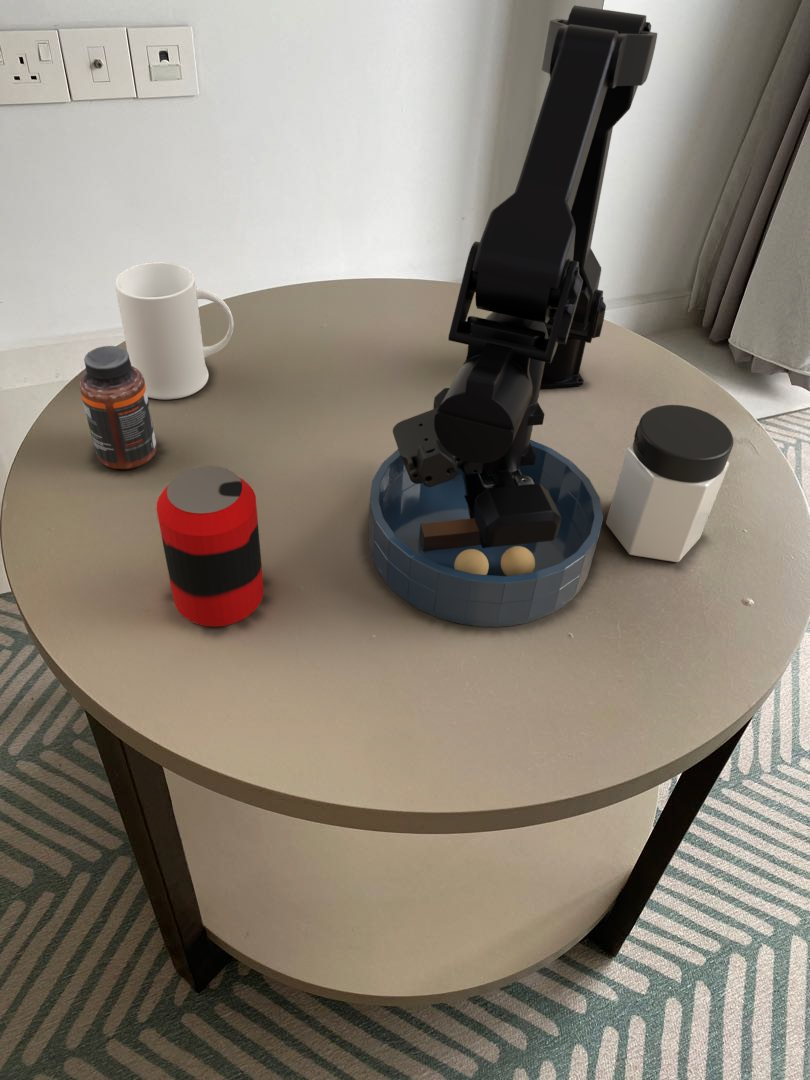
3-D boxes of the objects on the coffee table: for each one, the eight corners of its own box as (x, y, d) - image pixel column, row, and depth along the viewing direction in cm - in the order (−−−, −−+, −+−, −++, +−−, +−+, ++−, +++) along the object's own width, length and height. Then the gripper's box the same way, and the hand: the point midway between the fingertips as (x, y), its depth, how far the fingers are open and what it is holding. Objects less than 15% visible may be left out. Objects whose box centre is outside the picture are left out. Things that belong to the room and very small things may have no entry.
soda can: (262, 628, 72) (252, 521, 64) (169, 630, 71) (147, 522, 63) (265, 563, 78) (257, 457, 69) (179, 565, 77) (160, 458, 69)
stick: (532, 525, 82) (535, 511, 81) (538, 538, 81) (541, 524, 80) (418, 537, 80) (420, 523, 79) (423, 551, 79) (424, 536, 78)
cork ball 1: (498, 554, 76) (485, 577, 74) (486, 573, 78) (473, 595, 76) (469, 536, 76) (455, 558, 74) (457, 555, 78) (444, 578, 76)
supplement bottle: (168, 444, 89) (152, 347, 82) (137, 478, 85) (117, 380, 77) (117, 430, 91) (97, 334, 83) (84, 463, 86) (59, 365, 79)
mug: (240, 358, 102) (231, 261, 93) (235, 400, 96) (226, 300, 87) (136, 358, 101) (119, 259, 92) (125, 400, 94) (105, 299, 86)
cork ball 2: (516, 534, 76) (543, 555, 75) (514, 546, 79) (540, 566, 78) (494, 559, 75) (521, 580, 74) (493, 570, 78) (519, 591, 77)
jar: (637, 490, 88) (668, 390, 80) (711, 528, 84) (751, 428, 76) (591, 534, 83) (619, 433, 75) (667, 577, 79) (706, 474, 71)
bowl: (548, 465, 90) (557, 421, 86) (624, 611, 76) (639, 567, 72) (352, 482, 86) (352, 438, 83) (392, 641, 72) (395, 595, 68)
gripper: (382, 334, 75) (376, 476, 85) (431, 471, 61) (417, 617, 72) (506, 327, 77) (485, 466, 87) (580, 457, 63) (544, 602, 74)
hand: (480, 532), depth 80 cm, fingers open, 3 cm apart
